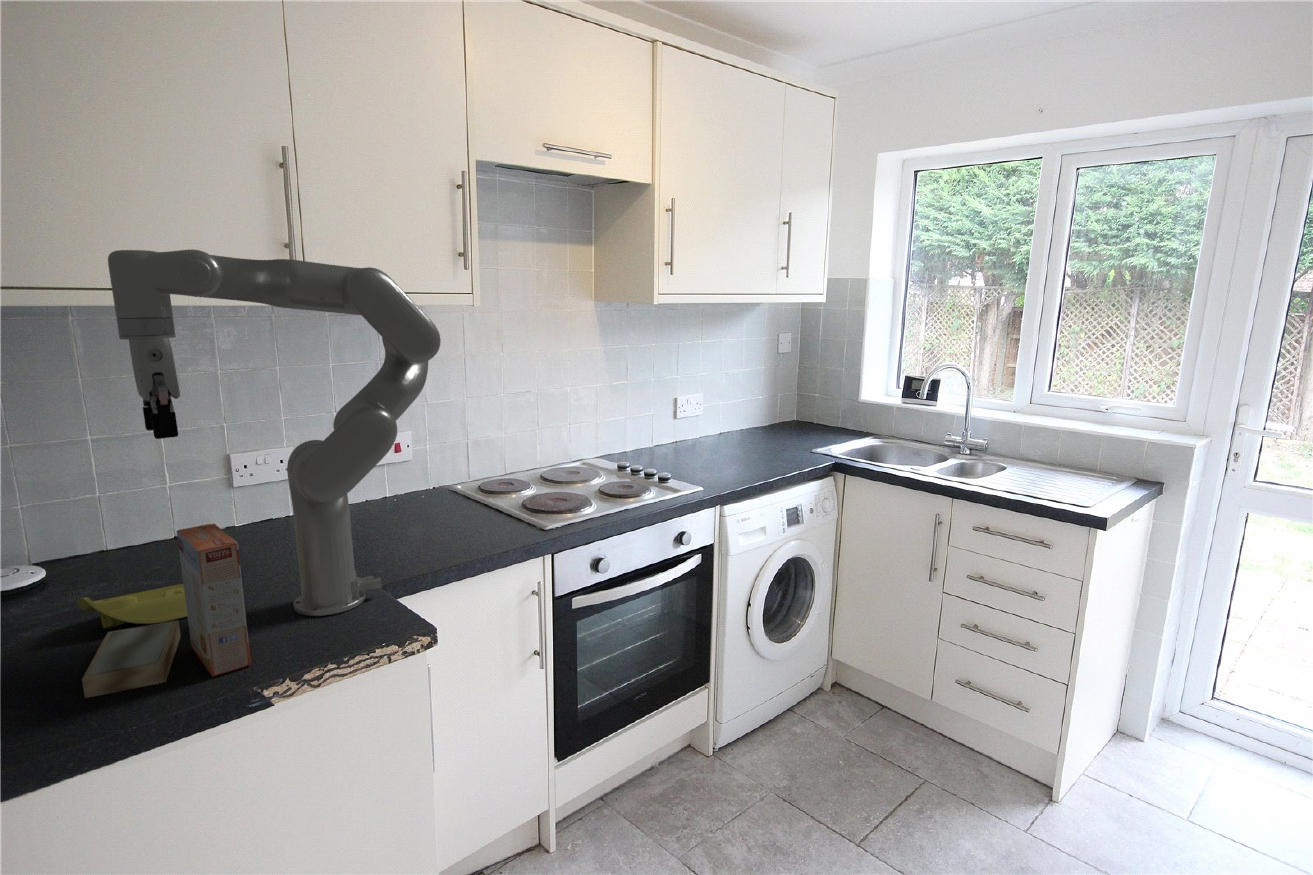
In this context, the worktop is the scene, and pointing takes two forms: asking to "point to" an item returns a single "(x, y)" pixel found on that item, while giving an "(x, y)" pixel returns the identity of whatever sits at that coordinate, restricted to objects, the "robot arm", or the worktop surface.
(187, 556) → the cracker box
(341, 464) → the robot arm
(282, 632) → the worktop surface
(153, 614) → the plastic component
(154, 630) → the stand
